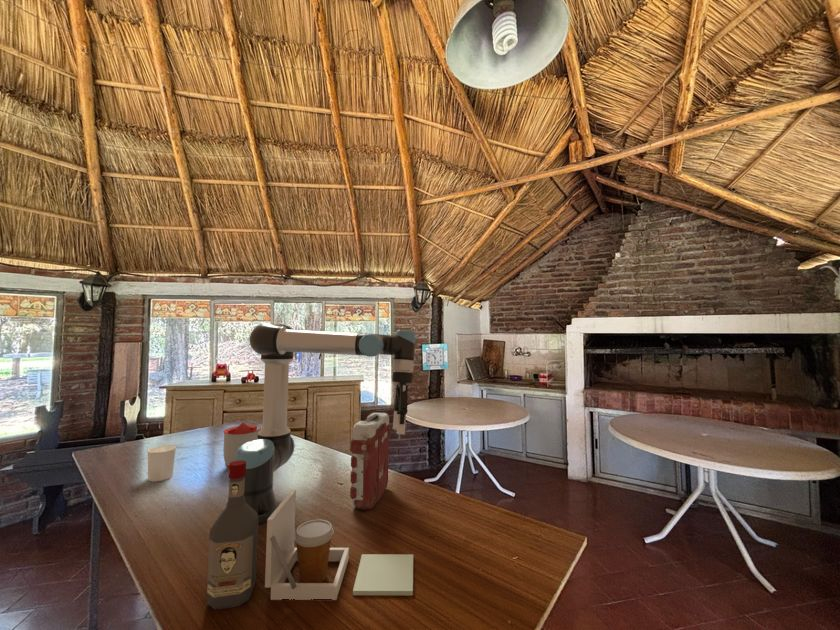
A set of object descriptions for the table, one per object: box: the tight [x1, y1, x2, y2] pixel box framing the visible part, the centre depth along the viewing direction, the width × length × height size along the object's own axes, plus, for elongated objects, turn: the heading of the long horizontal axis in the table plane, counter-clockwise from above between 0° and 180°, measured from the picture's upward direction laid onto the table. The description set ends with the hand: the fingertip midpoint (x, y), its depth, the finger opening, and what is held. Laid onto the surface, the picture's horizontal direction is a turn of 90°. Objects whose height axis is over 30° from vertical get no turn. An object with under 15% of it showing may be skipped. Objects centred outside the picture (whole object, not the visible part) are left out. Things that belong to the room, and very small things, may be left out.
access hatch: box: [264, 489, 350, 601], centre depth 89 cm, size 16×16×18 cm
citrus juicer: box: [223, 422, 262, 471], centre depth 165 cm, size 16×17×20 cm
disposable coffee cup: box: [294, 519, 335, 583], centre depth 89 cm, size 10×10×12 cm
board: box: [352, 553, 414, 596], centre depth 90 cm, size 14×14×1 cm
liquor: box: [206, 460, 259, 611], centre depth 83 cm, size 9×9×30 cm
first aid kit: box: [349, 412, 392, 511], centre depth 134 cm, size 23×8×30 cm, turn 168°
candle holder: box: [147, 445, 177, 483], centre depth 150 cm, size 10×10×12 cm
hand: (398, 431), depth 128 cm, fingers open, 13 cm apart
